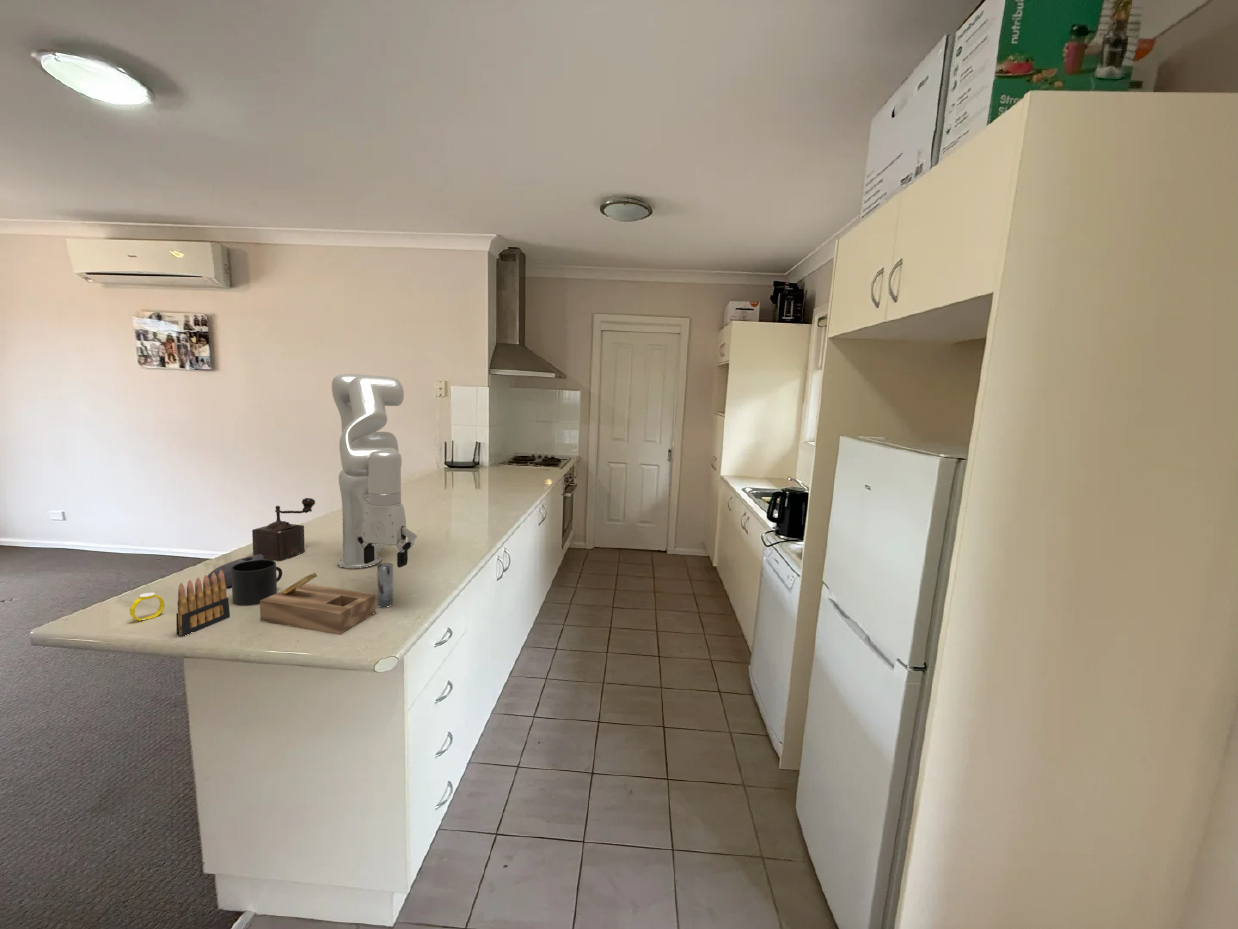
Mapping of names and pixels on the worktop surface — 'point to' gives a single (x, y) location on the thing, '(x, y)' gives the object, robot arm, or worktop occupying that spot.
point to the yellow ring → (142, 597)
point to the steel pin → (385, 584)
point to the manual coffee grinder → (281, 536)
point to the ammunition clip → (202, 604)
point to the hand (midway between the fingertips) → (385, 564)
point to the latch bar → (299, 583)
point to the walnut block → (318, 608)
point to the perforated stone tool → (228, 566)
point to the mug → (254, 581)
